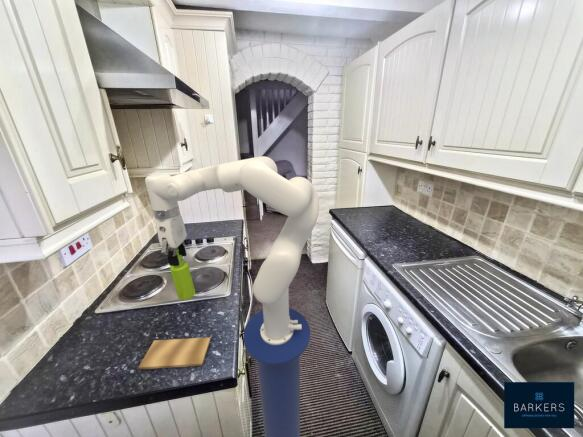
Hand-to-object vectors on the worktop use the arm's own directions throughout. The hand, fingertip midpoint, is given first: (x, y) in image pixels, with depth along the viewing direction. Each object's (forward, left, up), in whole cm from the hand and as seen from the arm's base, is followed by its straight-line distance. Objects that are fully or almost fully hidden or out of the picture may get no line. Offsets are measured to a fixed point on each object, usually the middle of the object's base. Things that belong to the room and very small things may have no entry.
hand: (178, 260), depth 81 cm
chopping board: (0, +14, -28) cm, 32 cm away
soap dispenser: (0, 0, -15) cm, 15 cm away
